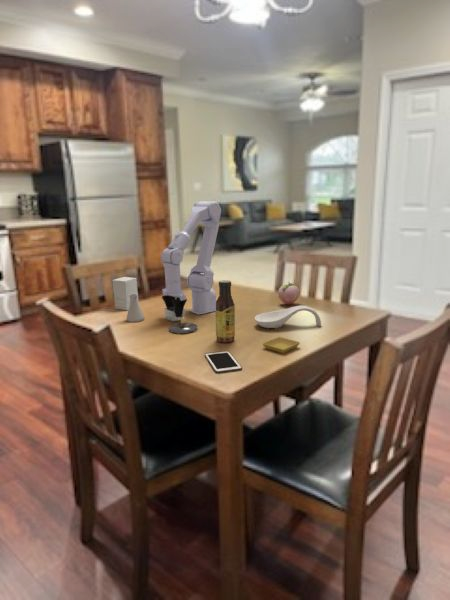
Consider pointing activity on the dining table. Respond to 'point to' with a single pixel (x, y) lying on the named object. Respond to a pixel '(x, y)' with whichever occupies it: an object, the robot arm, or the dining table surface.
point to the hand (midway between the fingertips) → (175, 315)
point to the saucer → (281, 344)
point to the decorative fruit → (288, 293)
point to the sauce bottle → (225, 313)
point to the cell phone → (223, 362)
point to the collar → (172, 314)
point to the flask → (134, 310)
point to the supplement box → (124, 291)
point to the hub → (183, 327)
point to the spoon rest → (282, 316)
